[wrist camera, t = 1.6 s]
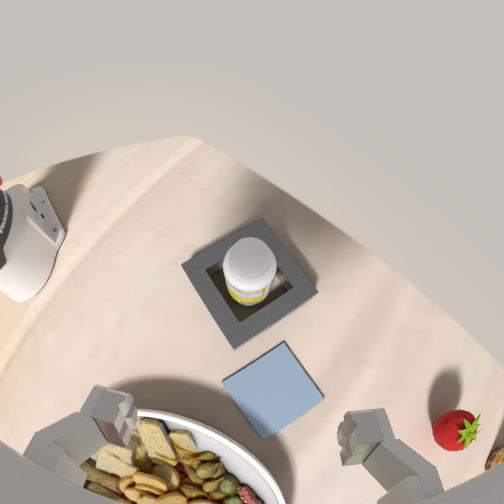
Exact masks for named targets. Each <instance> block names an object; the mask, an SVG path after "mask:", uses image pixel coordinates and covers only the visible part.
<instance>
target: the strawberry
mask: <svg viewBox="0 0 504 504" xmlns="http://www.w3.org/2000/svg"><path fill="white" fill-rule="evenodd" d="M480 415H481V414H480ZM480 415H479V416H478V417H477V418H476V419H475V417H474V416H473V415H472V414H471V413H470V412H468V411H464V410H455V411H452V412H449V413H446V414H444V415H443V416H441V417H440V418H439V419H438V421H437V422H436V423H435V424H434V426H433V436H434V439H435V441H436V443H437V444H438V445H440V446H441V447H442V448H443V449H445V450H448V451H459V450H463V449H464V448H465V447H466V449H467V447H468V445H469V444H470V443H471V442H472V440H475V441H477V439H476V431H477V428H478V426H479V425H480V424H478V425H477V423H478V420H479V418H480ZM482 429H483V428H482ZM482 429H481V430H482ZM481 430H480V431H481ZM480 431H479V432H480Z"/></svg>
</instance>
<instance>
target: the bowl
mask: <svg viewBox="0 0 504 504" xmlns="http://www.w3.org/2000/svg"><path fill="white" fill-rule="evenodd" d="M137 413H138V416H137V422H136V425H135V427H134V428H132V429H130V433H131V438H130V441H129V443H128V446H127V448H126V447H123V446H119V445H116V444H112V443H109V442H108V444H107V445H105V446H104V447H103V448H101V449H100V450H99V451H97V452H96V453H95V454H93V455H92V456H91V457H89V458H88V459H87V460H85V461H84V462H83V463H81V464H80V465H79V467H80V468H81V469H82V470H83V471H84V472H85V473H86V475H87V478H86V481H85V483H84V486H83V488H85V489H87V490H90V491H92V492H94V493H97V494H99V495H102V496H105V497H107V498H110V499H113V500H116V501H118V502H121V503H124V504H286V503H285V500H284V497H283V494H282V492H281V490H280V488H279V486H278V484H277V482H276V481H275V479H274V478H273V476H272V475H271V473H270V472H269V471H268V470H267V468H266V467H265V466H264V465H263V464H262V463H261V462H260V461H259V460H258V459H257V458H256V457H255V456H254V455H253V454H252V453H251V452H250V451H248V450H247V449H246V448H245V447H243V446H242V445H241V444H239V443H238V442H236V441H235V440H233V439H232V438H230V437H229V436H227V435H225V434H224V433H222V432H220V431H218V430H216V429H214V428H212V427H210V426H208V425H206V424H203V423H201V422H198V421H196V420H193V419H190V418H187V417H184V416H181V415H177V414H173V413H169V412H164V411H158V410H150V409H137Z"/></svg>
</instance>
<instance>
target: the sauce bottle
mask: <svg viewBox="0 0 504 504" xmlns="http://www.w3.org/2000/svg"><path fill="white" fill-rule="evenodd" d="M502 462H504V447H503V446H501V447H498V448H496V449H495V450H494V451H493V452H492V454H491V456H490V457H489V459H488V461H487V464H486V471H487V470H489V469H491V468H492V467H494V466H496V465H498V464H499V463H502Z"/></svg>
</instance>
